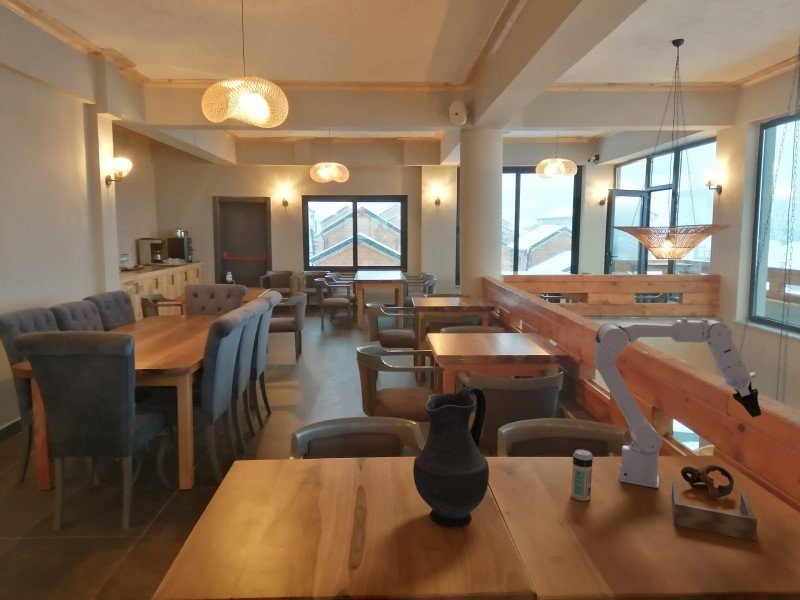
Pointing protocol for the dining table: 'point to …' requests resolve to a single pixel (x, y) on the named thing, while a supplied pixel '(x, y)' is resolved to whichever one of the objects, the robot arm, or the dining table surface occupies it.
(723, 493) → the brown hollow ring part
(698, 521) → the box
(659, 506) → the dining table surface
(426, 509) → the dining table surface
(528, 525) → the dining table surface
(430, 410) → the pitcher
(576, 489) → the supplement bottle
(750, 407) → the robot arm
